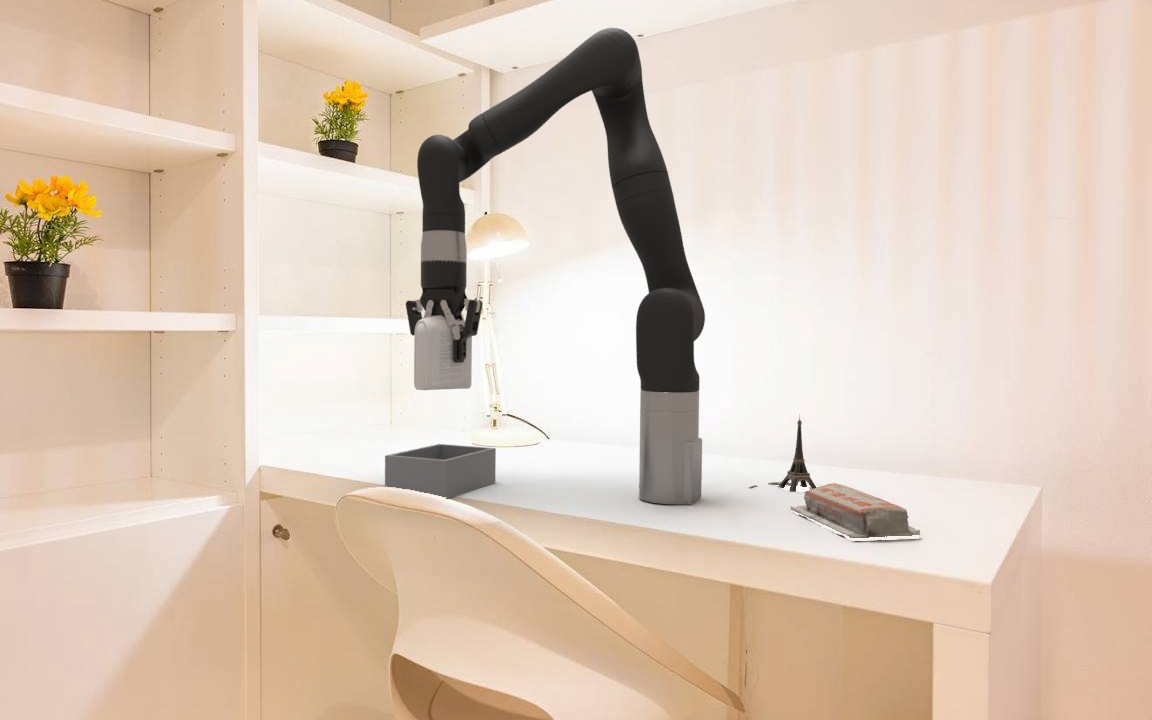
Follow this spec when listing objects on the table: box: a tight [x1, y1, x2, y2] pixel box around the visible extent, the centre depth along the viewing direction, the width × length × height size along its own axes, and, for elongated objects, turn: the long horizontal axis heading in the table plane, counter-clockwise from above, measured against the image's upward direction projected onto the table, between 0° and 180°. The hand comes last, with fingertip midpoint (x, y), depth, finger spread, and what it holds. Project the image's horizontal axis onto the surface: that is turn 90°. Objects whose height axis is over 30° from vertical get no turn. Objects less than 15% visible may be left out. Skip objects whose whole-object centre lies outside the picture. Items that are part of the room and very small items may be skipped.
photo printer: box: [413, 315, 473, 391], centre depth 134 cm, size 10×4×12 cm, turn 136°
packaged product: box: [790, 482, 921, 538], centre depth 112 cm, size 18×5×10 cm
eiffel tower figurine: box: [748, 414, 817, 493], centre depth 137 cm, size 15×10×13 cm
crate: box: [384, 443, 497, 499], centre depth 135 cm, size 12×16×6 cm
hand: (443, 361), depth 134 cm, fingers closed on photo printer, 5 cm apart
